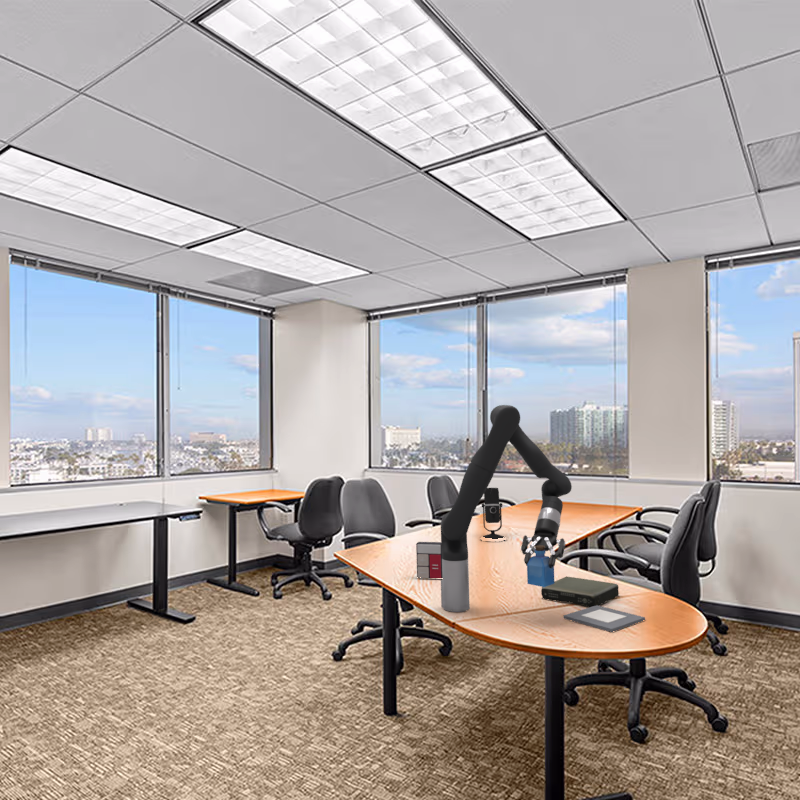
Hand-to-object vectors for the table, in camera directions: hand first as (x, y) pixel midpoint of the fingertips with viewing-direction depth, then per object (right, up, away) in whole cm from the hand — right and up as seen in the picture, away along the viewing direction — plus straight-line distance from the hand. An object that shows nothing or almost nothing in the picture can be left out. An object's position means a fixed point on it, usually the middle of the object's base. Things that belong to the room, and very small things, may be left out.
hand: (538, 565), depth 192 cm
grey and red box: (-32, -22, +60) cm, 72 cm away
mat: (+21, -17, 0) cm, 27 cm away
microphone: (+9, -27, +149) cm, 152 cm away
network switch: (+22, -20, +26) cm, 39 cm away
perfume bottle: (+1, -6, +1) cm, 6 cm away
